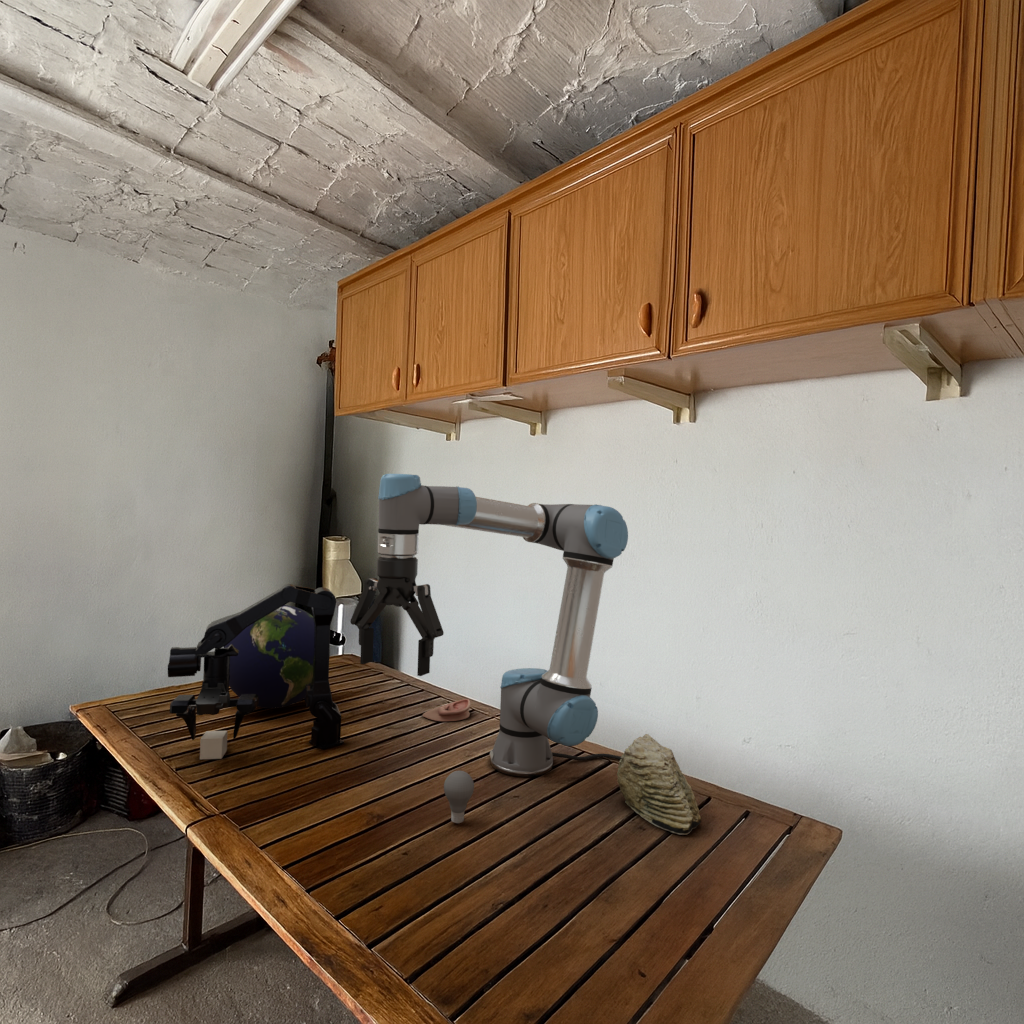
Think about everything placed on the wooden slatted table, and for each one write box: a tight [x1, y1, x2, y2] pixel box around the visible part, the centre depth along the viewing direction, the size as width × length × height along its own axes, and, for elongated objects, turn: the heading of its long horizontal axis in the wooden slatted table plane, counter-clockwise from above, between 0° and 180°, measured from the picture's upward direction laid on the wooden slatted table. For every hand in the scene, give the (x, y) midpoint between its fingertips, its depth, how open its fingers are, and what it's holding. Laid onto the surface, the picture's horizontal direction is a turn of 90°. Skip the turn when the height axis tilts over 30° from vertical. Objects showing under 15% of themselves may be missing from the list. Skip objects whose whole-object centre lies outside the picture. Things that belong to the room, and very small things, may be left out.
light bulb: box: [443, 770, 475, 824], centre depth 125 cm, size 6×6×10 cm
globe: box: [223, 604, 331, 709], centre depth 188 cm, size 30×30×30 cm
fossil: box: [616, 733, 702, 836], centre depth 132 cm, size 9×18×15 cm, turn 46°
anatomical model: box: [422, 698, 471, 722], centre depth 187 cm, size 13×4×12 cm
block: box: [199, 730, 228, 760], centre depth 152 cm, size 5×5×5 cm
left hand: (214, 738), depth 152 cm, fingers open, 9 cm apart
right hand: (394, 668), depth 119 cm, fingers open, 13 cm apart
